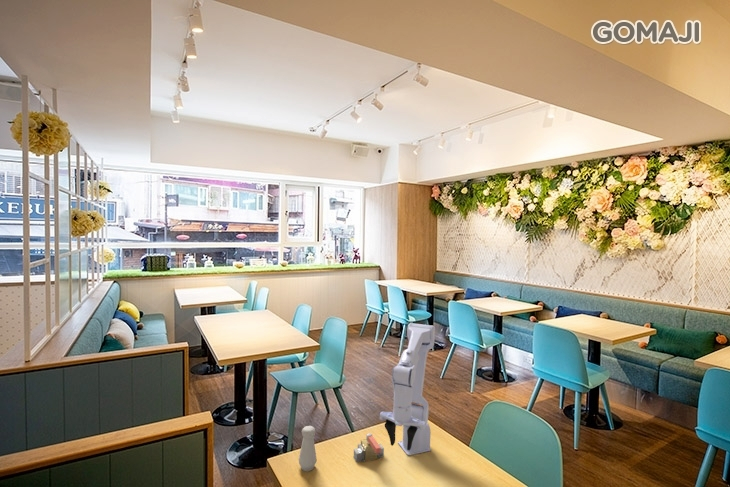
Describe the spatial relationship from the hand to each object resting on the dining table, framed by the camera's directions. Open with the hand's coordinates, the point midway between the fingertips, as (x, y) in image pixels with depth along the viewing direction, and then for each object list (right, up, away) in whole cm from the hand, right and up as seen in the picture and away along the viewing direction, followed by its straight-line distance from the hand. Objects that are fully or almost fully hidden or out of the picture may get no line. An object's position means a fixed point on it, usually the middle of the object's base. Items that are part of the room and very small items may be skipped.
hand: (401, 446), depth 115 cm
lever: (-9, -3, +6) cm, 11 cm away
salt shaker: (-30, -9, +3) cm, 31 cm away
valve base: (-10, -9, +9) cm, 16 cm away
